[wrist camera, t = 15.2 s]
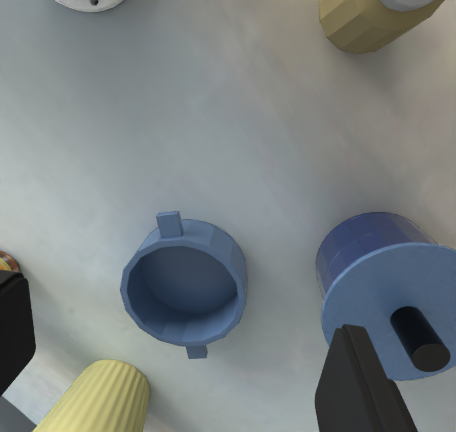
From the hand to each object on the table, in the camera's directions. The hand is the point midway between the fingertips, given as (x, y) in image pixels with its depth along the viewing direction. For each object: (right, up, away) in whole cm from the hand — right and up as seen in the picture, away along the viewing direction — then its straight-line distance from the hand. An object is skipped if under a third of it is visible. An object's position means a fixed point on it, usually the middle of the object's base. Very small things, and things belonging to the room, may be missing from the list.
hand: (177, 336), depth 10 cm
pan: (-3, -4, +34) cm, 35 cm away
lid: (+19, -6, +23) cm, 30 cm away
